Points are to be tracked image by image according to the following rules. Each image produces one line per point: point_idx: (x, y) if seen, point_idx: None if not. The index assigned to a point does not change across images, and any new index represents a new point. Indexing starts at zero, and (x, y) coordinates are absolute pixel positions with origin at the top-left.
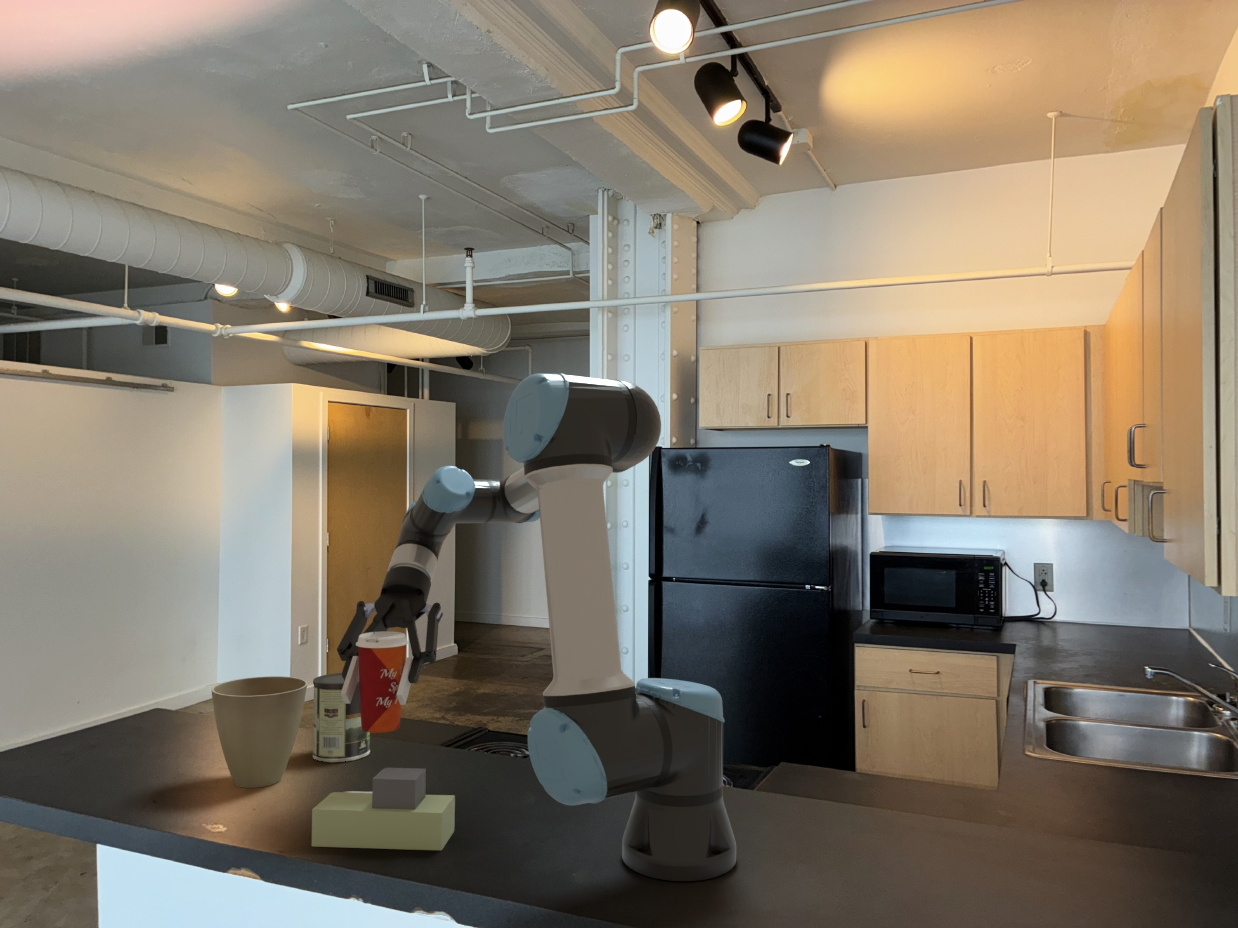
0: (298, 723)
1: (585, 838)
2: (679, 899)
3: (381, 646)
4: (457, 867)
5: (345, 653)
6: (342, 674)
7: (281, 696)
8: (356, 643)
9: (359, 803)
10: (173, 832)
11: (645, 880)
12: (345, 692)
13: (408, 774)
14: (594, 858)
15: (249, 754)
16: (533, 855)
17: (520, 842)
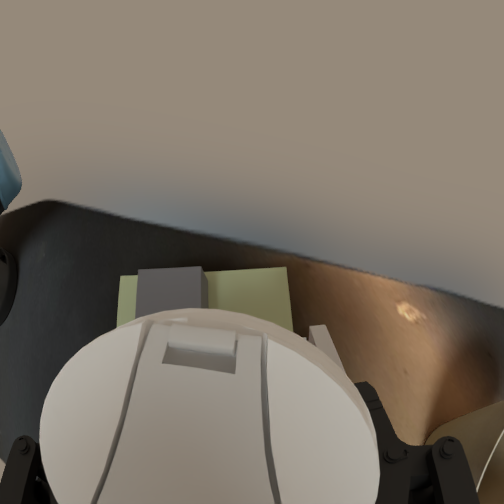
0: None
1: (31, 326)
2: (9, 230)
3: (141, 317)
4: (118, 254)
5: (417, 454)
6: (368, 385)
7: (489, 448)
8: (357, 392)
9: (232, 296)
10: (433, 290)
11: (14, 252)
12: (311, 327)
13: (153, 292)
14: (30, 284)
15: (463, 417)
16: (64, 286)
17: (73, 315)
